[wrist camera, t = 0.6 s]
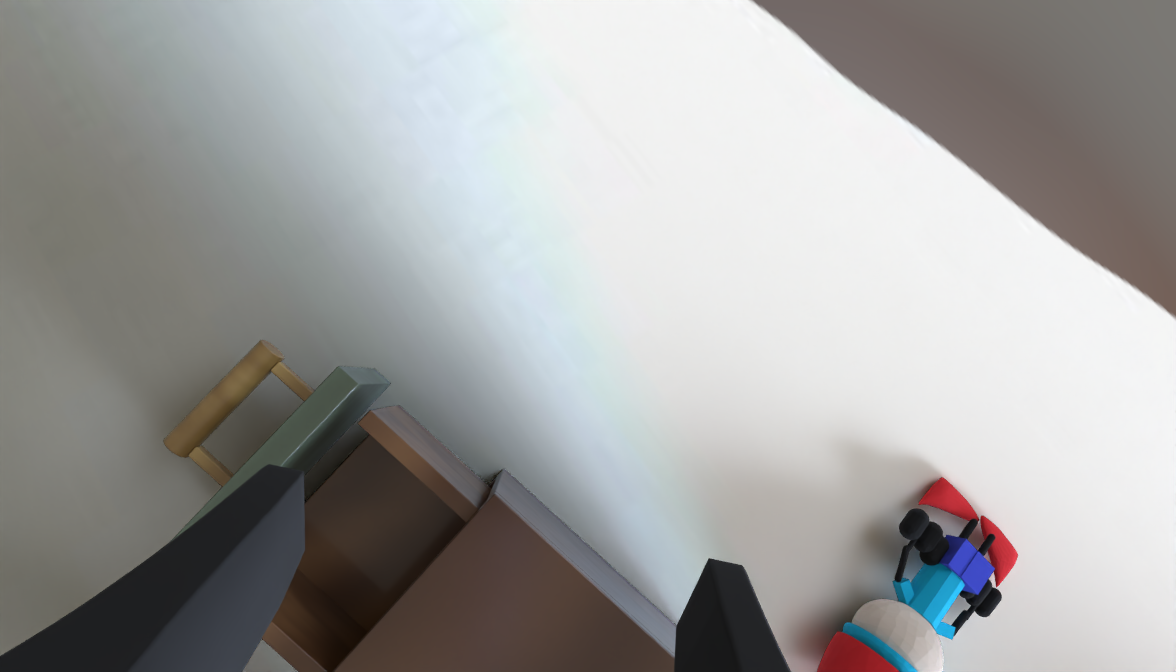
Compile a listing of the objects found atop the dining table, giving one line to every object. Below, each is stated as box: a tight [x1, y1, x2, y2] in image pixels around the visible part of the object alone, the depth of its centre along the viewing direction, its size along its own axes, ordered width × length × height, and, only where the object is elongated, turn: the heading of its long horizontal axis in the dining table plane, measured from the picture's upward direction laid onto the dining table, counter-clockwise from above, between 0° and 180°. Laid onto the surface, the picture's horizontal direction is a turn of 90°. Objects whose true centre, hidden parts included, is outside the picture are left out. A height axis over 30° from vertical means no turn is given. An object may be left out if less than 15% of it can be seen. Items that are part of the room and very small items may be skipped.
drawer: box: [163, 340, 492, 672], centre depth 32 cm, size 17×11×7 cm, turn 48°
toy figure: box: [817, 477, 1018, 672], centre depth 36 cm, size 8×5×15 cm
